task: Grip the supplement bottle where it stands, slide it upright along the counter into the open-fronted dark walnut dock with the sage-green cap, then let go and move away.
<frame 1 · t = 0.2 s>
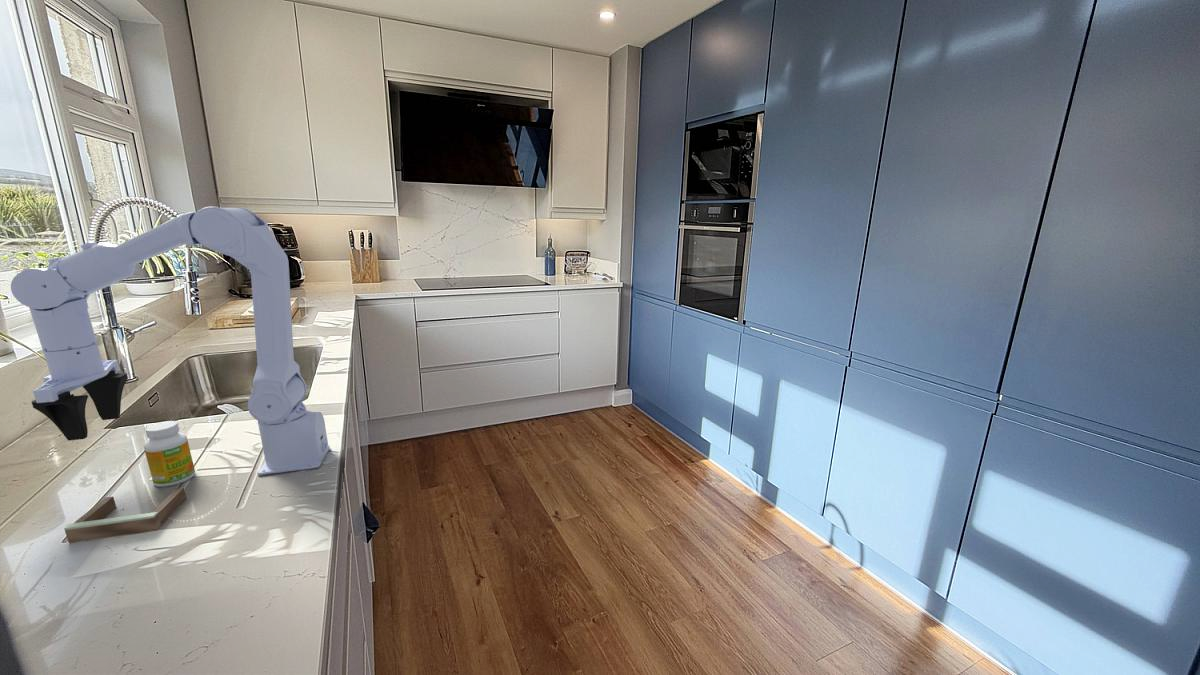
hand: (95, 428, 78), 10 cm above the worktop, tool pointing down, fingers open, 7 cm apart
supplement bottle: (175, 480, 82), on the worktop
dock: (134, 517, 72), on the worktop
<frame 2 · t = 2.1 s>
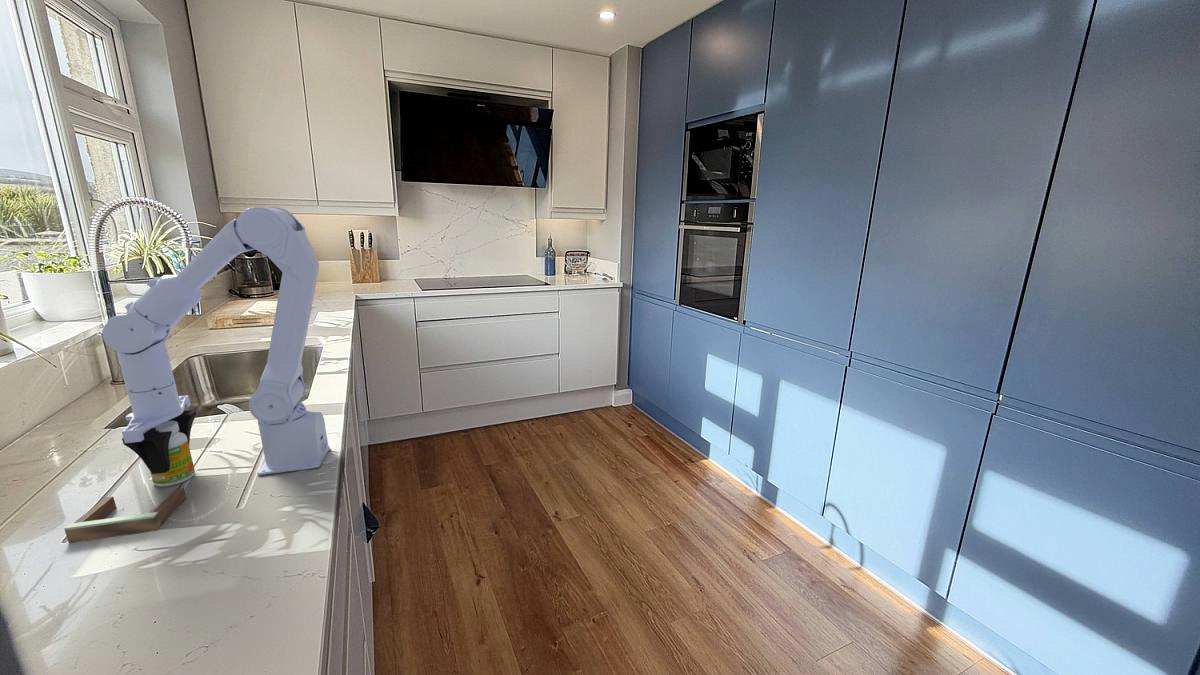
hand: (171, 463, 81), 3 cm above the worktop, tool pointing down, fingers closed on supplement bottle, 5 cm apart
supplement bottle: (175, 479, 82), on the worktop, touching gripper
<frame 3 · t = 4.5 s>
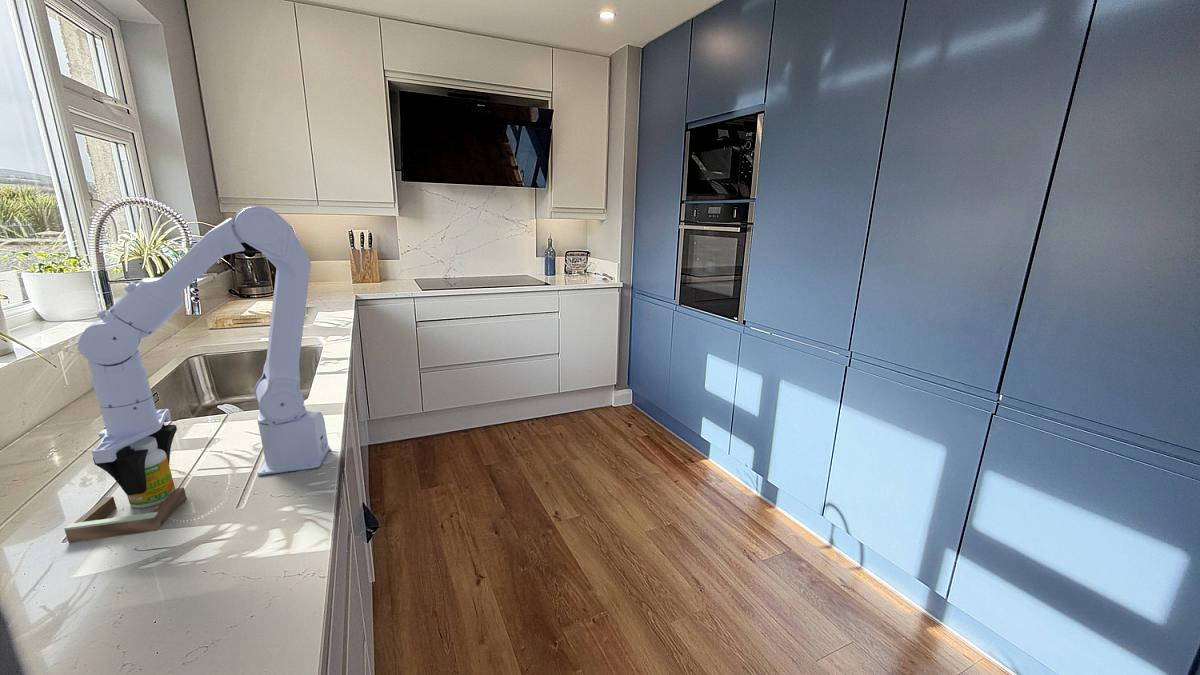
hand: (148, 482, 75), 3 cm above the worktop, tool pointing down, fingers open, 5 cm apart
supplement bottle: (154, 499, 76), on the worktop, touching gripper
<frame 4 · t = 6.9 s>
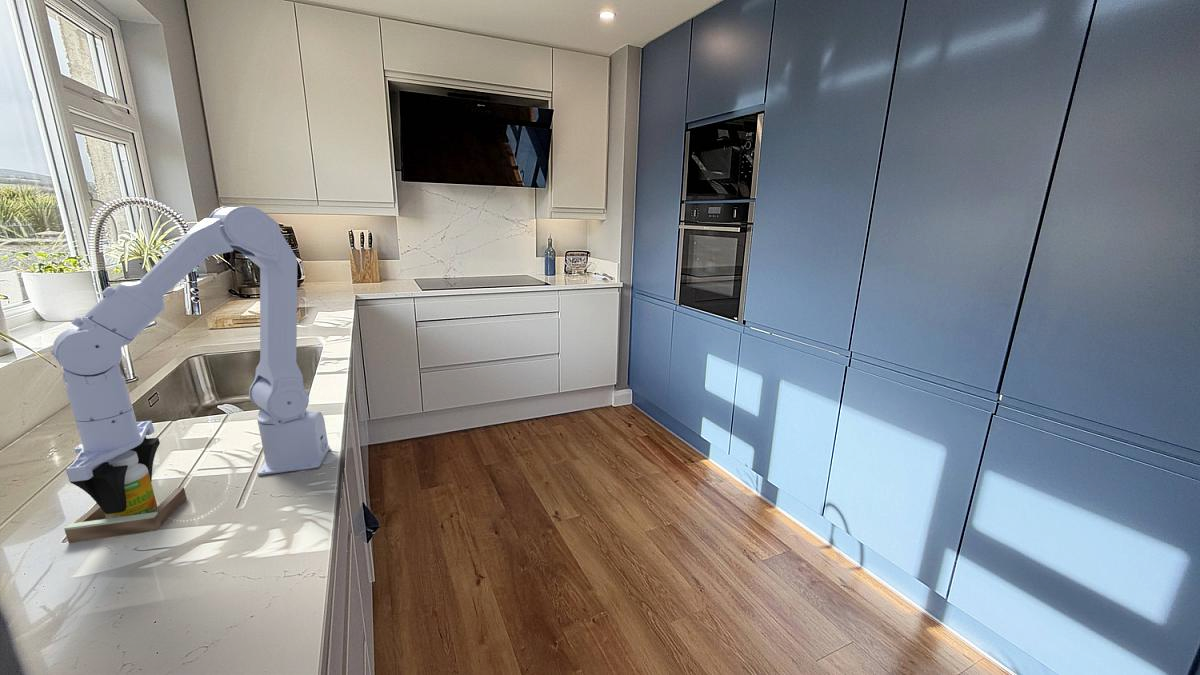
hand: (129, 499, 71), 3 cm above the worktop, tool pointing down, fingers closed on supplement bottle, 5 cm apart
supplement bottle: (134, 518, 72), on the worktop, touching gripper
when the fingers open (3 cm above the worktop, at t = 7.0 s): supplement bottle stays where it is, on the worktop.
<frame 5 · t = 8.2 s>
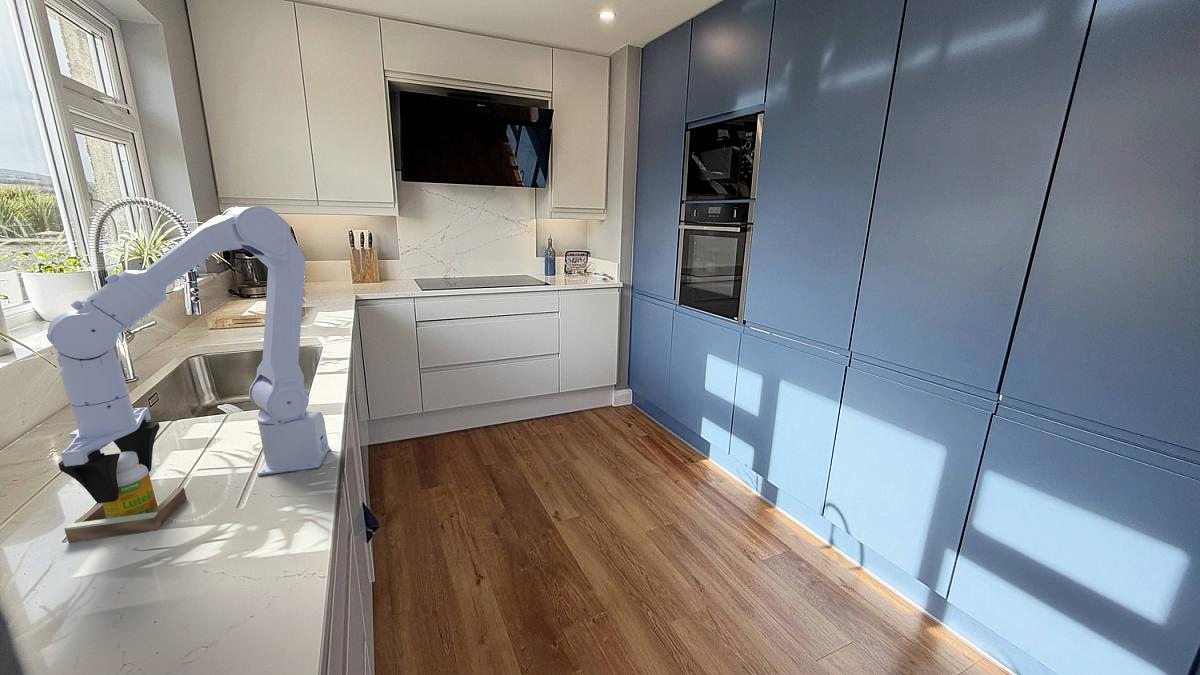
hand: (125, 486, 70), 5 cm above the worktop, tool pointing down, fingers open, 7 cm apart
supplement bottle: (134, 518, 72), on the worktop
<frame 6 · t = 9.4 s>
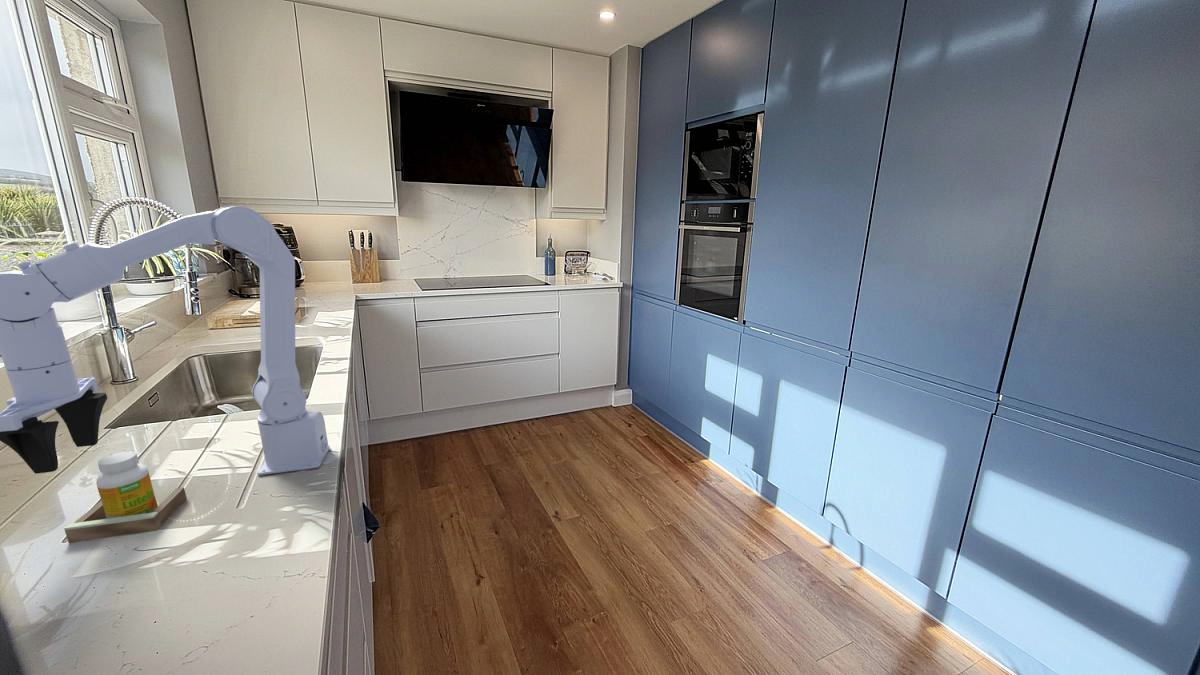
hand: (68, 457, 67), 11 cm above the worktop, tool pointing down, fingers open, 7 cm apart
nothing on the worktop moved.
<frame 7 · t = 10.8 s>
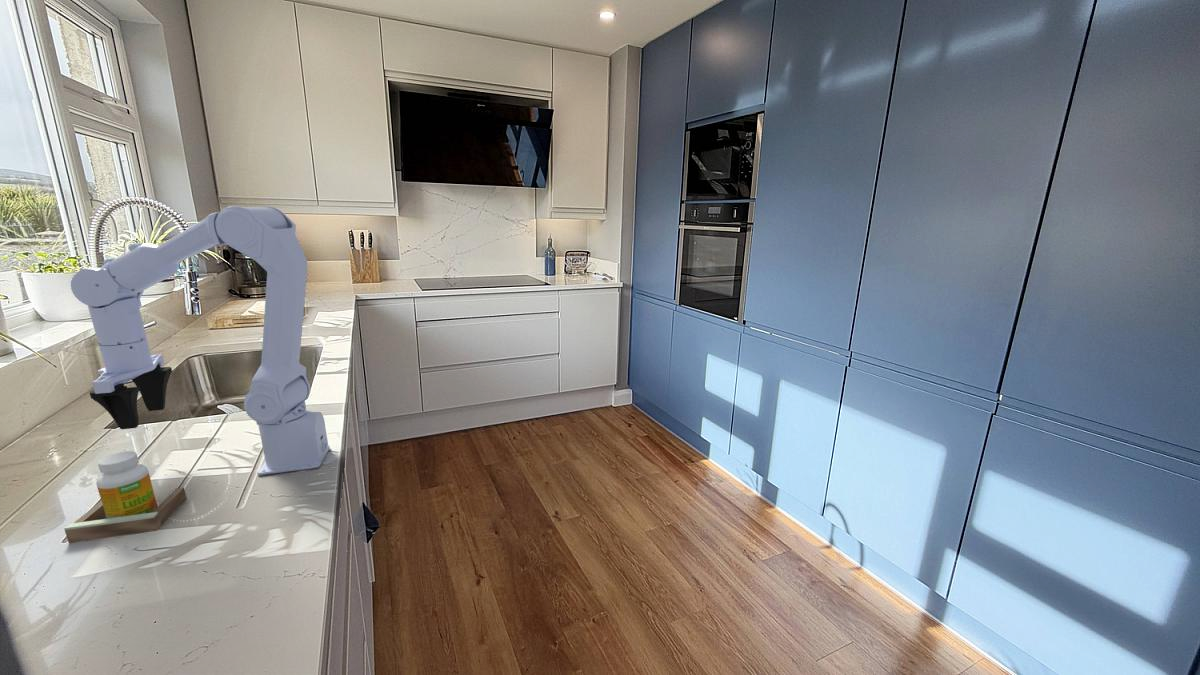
hand: (143, 418, 83), 9 cm above the worktop, tool pointing down, fingers open, 7 cm apart
nothing on the worktop moved.
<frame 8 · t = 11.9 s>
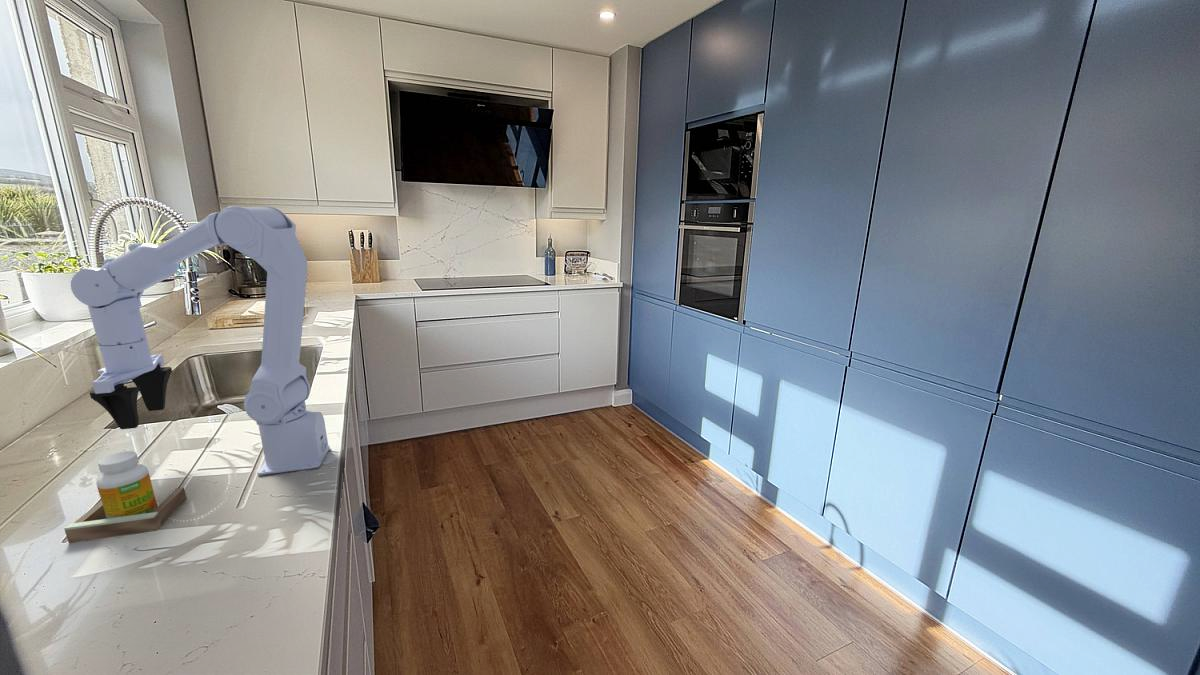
hand: (143, 418, 83), 9 cm above the worktop, tool pointing down, fingers open, 7 cm apart
nothing on the worktop moved.
at the end: supplement bottle 0.2 cm off-centre on the dock, point 0.0 cm above the dock's base; supplement bottle tilted 0°; the gripper is holding nothing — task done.
